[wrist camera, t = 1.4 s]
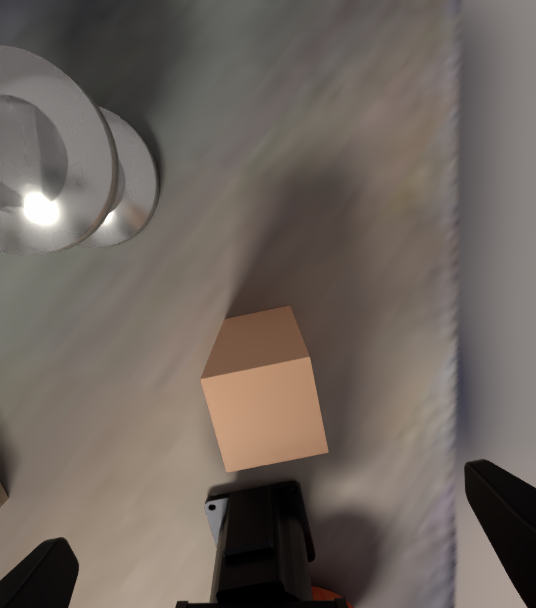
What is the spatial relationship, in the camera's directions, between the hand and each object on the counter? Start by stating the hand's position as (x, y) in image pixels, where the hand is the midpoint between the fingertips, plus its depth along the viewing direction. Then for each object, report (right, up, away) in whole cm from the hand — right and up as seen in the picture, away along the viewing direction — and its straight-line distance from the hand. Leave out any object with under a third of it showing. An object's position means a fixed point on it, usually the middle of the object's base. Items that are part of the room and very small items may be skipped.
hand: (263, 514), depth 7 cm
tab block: (0, +2, +13) cm, 13 cm away
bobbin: (-9, +11, +10) cm, 18 cm away
